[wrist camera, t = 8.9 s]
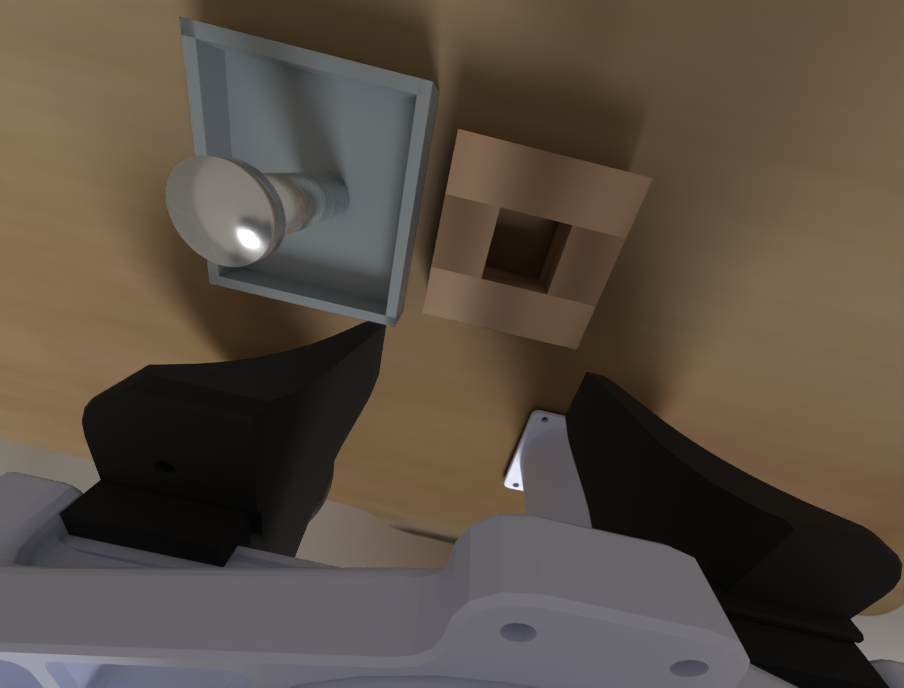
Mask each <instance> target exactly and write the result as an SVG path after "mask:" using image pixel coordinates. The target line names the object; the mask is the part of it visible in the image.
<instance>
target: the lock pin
mask: <svg viewBox="0 0 904 688" xmlns="http://www.w3.org/2000/svg"><path fill="white" fill-rule="evenodd" d="M165 198H166V205H167V210H168V213H169V216H170V218H171V221H172V223H173V225H174V227H175V228H176V230H177V232H178V233H179V235H180V236H181V237H182V239H183V240H184V241H185V242H186V243H187V244H188V245H189V246H190V247H191V248H192V249H193V250H194V251H195V252H196V253H198V254H199V255H201V256H202V257H204V258H205V259H207V260H209V261H211V262H213V263H216V264H219V265H222V266H227V267H242V266H246V265H249V264H251V263H253V262H256V261H258V260H261V259H263V258H266V257H268V256H269V255H271V254H273V253H274V252H275V251H276V250H277V249H278V247H279V246H280V244H281V242H282V240H283V238H284V236H285V235H288V234H291V233H294V232H297V231H300V230H303V229H306V228H309V227H312V226H315V225H318V224H320V223H323V222H326V221H329V220H332V219H335V218H338V217H340V216H342V215H343V214H344V213H345V212H346V211H347V209H348V206H349V202H350V197H349V191H348V189H347V186H346V185H345V183H344V182H343V180H342V179H341V178H339V177H338V176H337V175H335V174H333V173H330V172H278V173H261V172H260V171H259V170H258V169H256V168H255V167H254V166H252V165H250V164H249V163H247V162H245V161H242V160H240V159H237V158H233V157H227V156H207V155H197V156H191V157H188V158H185V159H184V160H182V161H180V162H179V163H178V164H177V165H175V167H174V168H173V169H172V171H171V172H170V174H169V176H168V179H167V183H166V188H165Z"/></svg>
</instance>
